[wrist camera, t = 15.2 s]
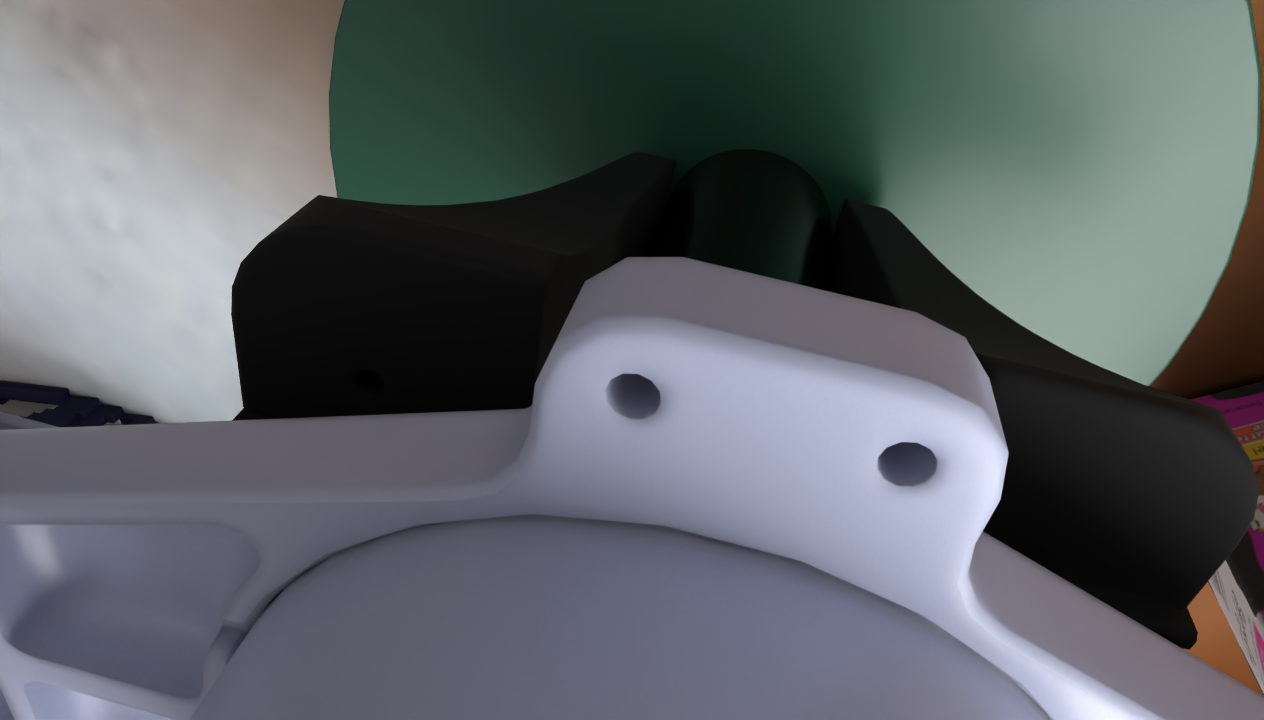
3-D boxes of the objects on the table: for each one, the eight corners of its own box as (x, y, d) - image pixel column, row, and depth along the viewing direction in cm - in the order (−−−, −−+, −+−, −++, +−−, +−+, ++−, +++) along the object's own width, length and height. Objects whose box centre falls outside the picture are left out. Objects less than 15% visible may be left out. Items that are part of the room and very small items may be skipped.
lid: (1080, 549, 17) (1170, 829, 13) (421, 468, 19) (294, 682, 15) (1428, -350, 9) (1982, -467, 5) (271, -311, 12) (-87, -366, 7)
